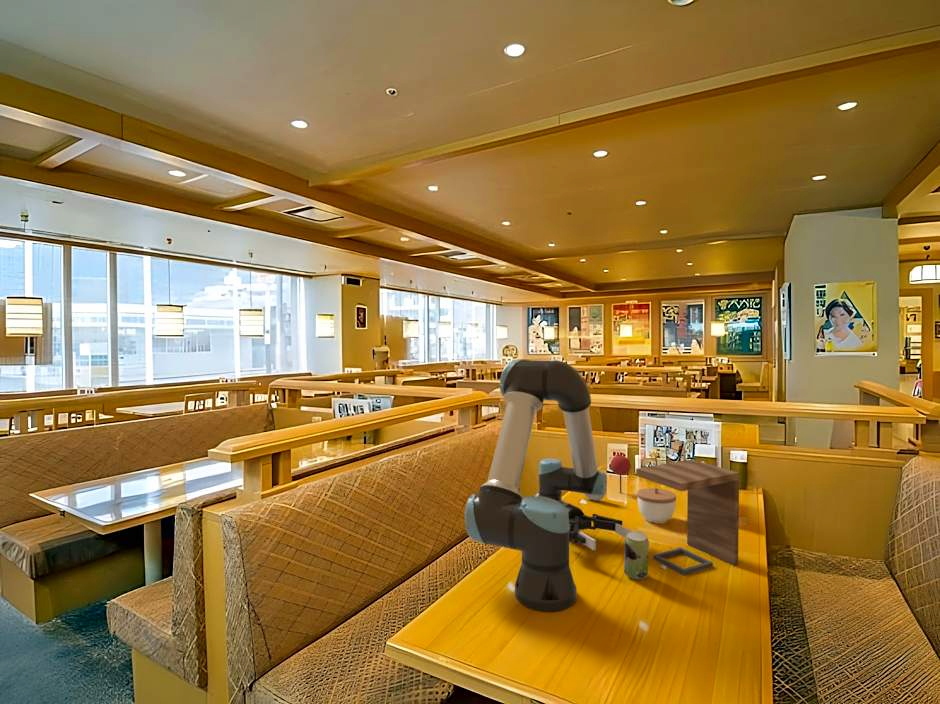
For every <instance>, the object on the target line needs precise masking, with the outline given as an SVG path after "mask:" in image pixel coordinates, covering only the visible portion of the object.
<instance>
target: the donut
mask: <svg viewBox="0 0 940 704" xmlns="http://www.w3.org/2000/svg"><path fill="white" fill-rule="evenodd" d="M607 489H608V488H606V492H605V493H604V494H603V495H590V494H584V496H585V497H586V498H587V499H588V500H591V501H594V502H595V501H596V502H598V501H601V500H602V499H604V498H605V496H606V494H607Z"/></svg>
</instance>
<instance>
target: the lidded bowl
mask: <svg viewBox="0 0 940 704" xmlns="http://www.w3.org/2000/svg"><path fill="white" fill-rule="evenodd" d="M636 496H637V506H638V509H639V512H640V514H641V515H642V517H643V518H644V519H645V521H647V520H648V521H647V522H649V521H650V522H649V523H652V522H654V523H653V524H658V523H661V524H665V523H666V524H667V523H668V521H669V520H670V519H671V518H672V517H673V516H674V513H675V511H676V505H677V504H676V502H677V501H676V500H677V495H676V493H674V492H672V491H670V490H667V489H663V488H659V487H654V488H653V487H651V488H649V487H645V488H641V489H639V490H637V491H636Z"/></svg>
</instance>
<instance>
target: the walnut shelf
mask: <svg viewBox="0 0 940 704" xmlns="http://www.w3.org/2000/svg"><path fill="white" fill-rule="evenodd" d="M635 475H636V476H637V477H638V478H642V479H644V480H648V481H650V482H653V483H656V484H659V485H662V486H665V487H667V488H670V489H674V490H677V491H679V492H685V491H687V512H686V514H687V516H686V517H687V523H686V525H687V527H686V532H687V533H686V545H687V544H688V545H687V546H689V547H691V548H693V549H696V550H697V551H700V552H702V553H704V552H705V554H706V553H707V555H708V554H709V556H711V557H713V556H714V557H713V558H715V557H716V558H715V559H717V558H718V559H717V560H719V559H720V560H719V561H721V560H722V562H723V563H726V564H728V563H729V564H728V565H730V566H732V565H733V566H732V567H737V565H738V566H739V527H740V526H739V525H740V524H739V521H740V519H739V518H740V517H739V516H740V515H739V514H740V509H739V508H740V472H739V471H734V470H732V469H728V468H723V467H720V466H717V465H713V464H710V463H702V462H701V461H698V460H694V459H687V460H686V459H685V460H681V461H674V462H668V463H663V464H656V465H650V466H646V467H639V468H636V469H635Z"/></svg>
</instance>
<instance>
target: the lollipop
mask: <svg viewBox="0 0 940 704" xmlns="http://www.w3.org/2000/svg"><path fill="white" fill-rule="evenodd" d="M609 466H610V470H611V471H612V472H613V473H614V474H615V475H618V476H619V493H620V494H622V476H625V475H627V474H629V472H630V471H631V468H632V465H631V461H630V460H629V458H627V456H625V455H615V456H614V457H612V459H611V461H610V464H609Z"/></svg>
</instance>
